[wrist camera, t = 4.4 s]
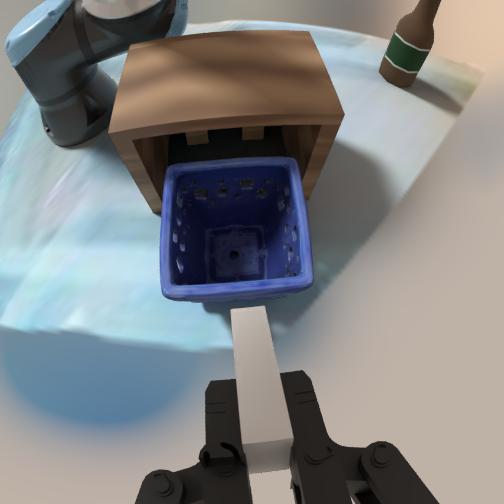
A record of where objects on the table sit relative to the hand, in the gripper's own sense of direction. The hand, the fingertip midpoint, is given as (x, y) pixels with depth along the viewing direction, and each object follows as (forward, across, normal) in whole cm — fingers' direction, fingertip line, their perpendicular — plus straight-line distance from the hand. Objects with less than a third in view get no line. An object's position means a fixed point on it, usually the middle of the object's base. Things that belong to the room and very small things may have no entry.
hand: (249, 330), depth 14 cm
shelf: (+33, 0, +2) cm, 33 cm away
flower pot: (+23, 0, -9) cm, 25 cm away
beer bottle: (+48, +35, +16) cm, 61 cm away
